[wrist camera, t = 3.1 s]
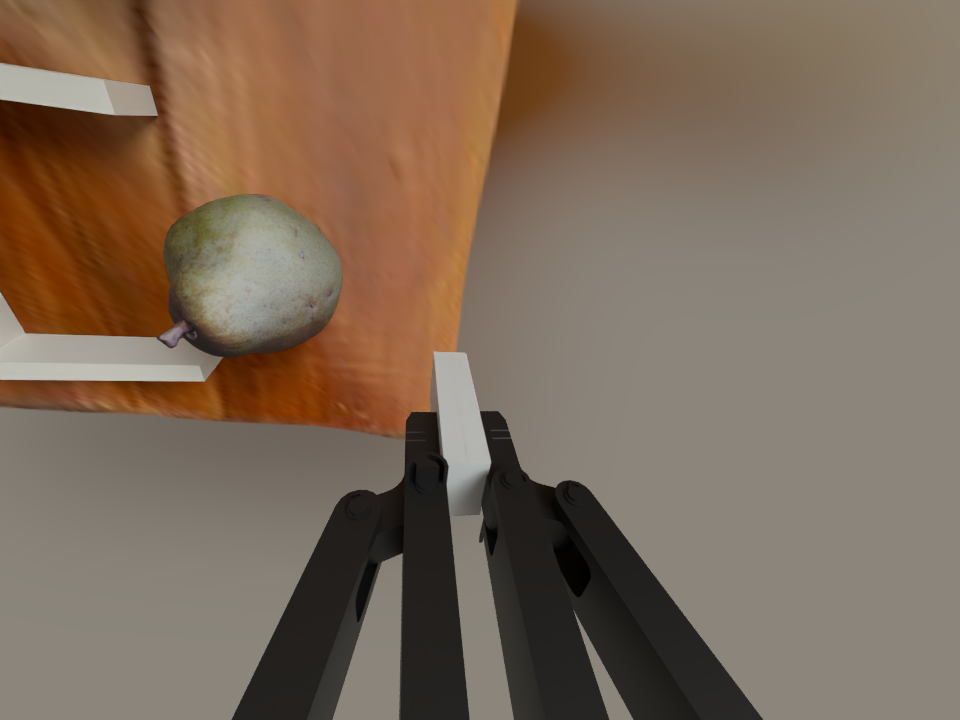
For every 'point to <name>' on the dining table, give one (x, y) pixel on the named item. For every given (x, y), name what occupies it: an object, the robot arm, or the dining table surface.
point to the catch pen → (86, 357)
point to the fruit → (248, 277)
